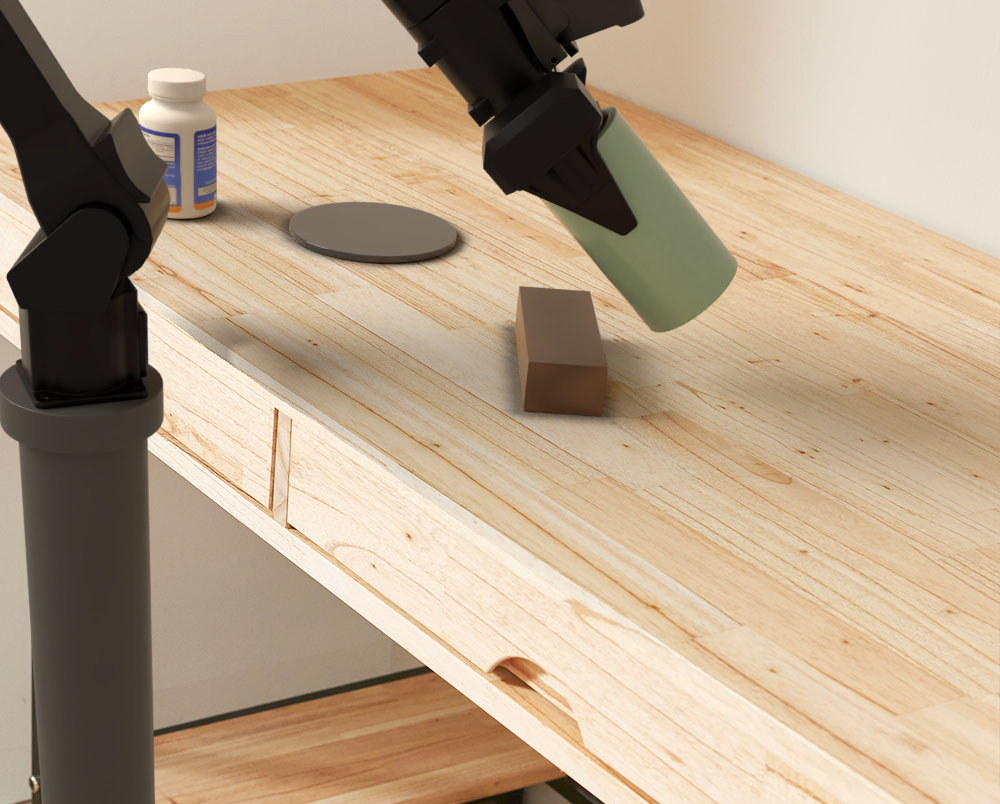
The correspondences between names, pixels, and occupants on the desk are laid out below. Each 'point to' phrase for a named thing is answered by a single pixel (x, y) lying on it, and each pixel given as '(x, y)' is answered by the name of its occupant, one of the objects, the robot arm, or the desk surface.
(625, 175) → the cup
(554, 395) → the prop block
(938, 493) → the desk surface
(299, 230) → the coaster
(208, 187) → the pill bottle
